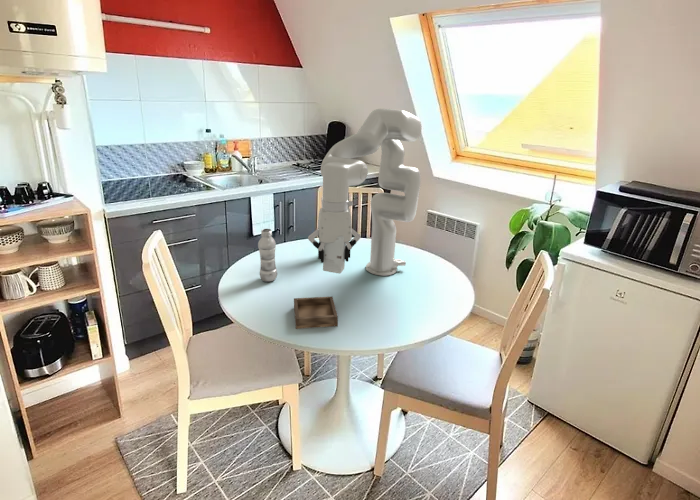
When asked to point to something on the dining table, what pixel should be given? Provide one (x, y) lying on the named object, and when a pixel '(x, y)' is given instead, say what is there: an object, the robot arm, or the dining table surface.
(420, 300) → the dining table surface
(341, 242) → the skincare box
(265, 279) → the plastic bottle
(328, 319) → the walnut tray
